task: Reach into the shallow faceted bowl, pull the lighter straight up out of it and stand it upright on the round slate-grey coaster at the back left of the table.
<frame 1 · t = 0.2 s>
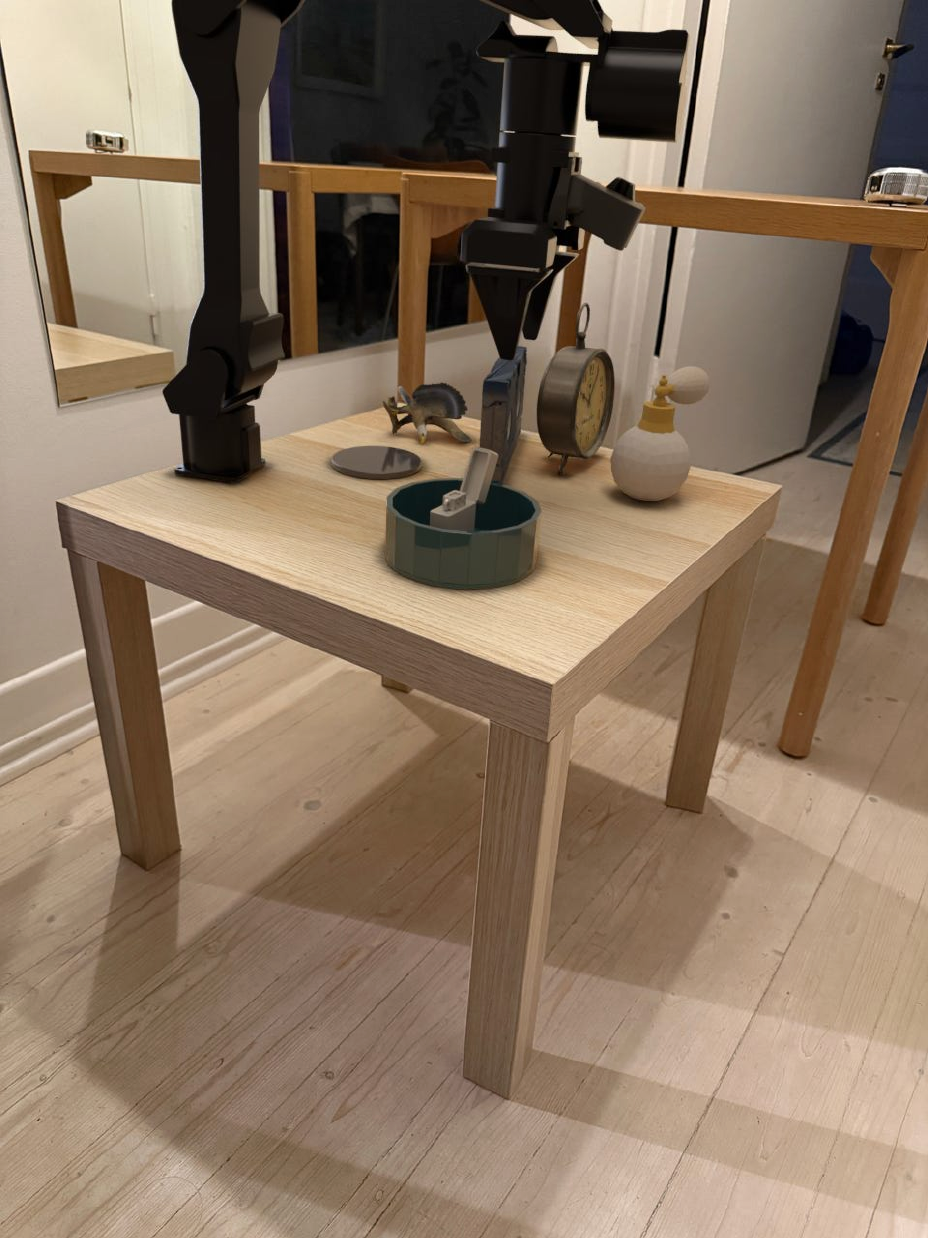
hand: (519, 348, 75), 15 cm above the table, tool pointing down, fingers open, 9 cm apart
lighter: (460, 554, 72), resting on shallow faceted bowl
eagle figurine: (427, 440, 101), on the table
perfume bottle: (647, 495, 89), on the table
alarm clock: (566, 465, 96), on the table
shallow faceted bowl: (460, 556, 73), on the table
vhs cassette tape: (500, 458, 96), on the table
coaster: (376, 464, 92), on the table
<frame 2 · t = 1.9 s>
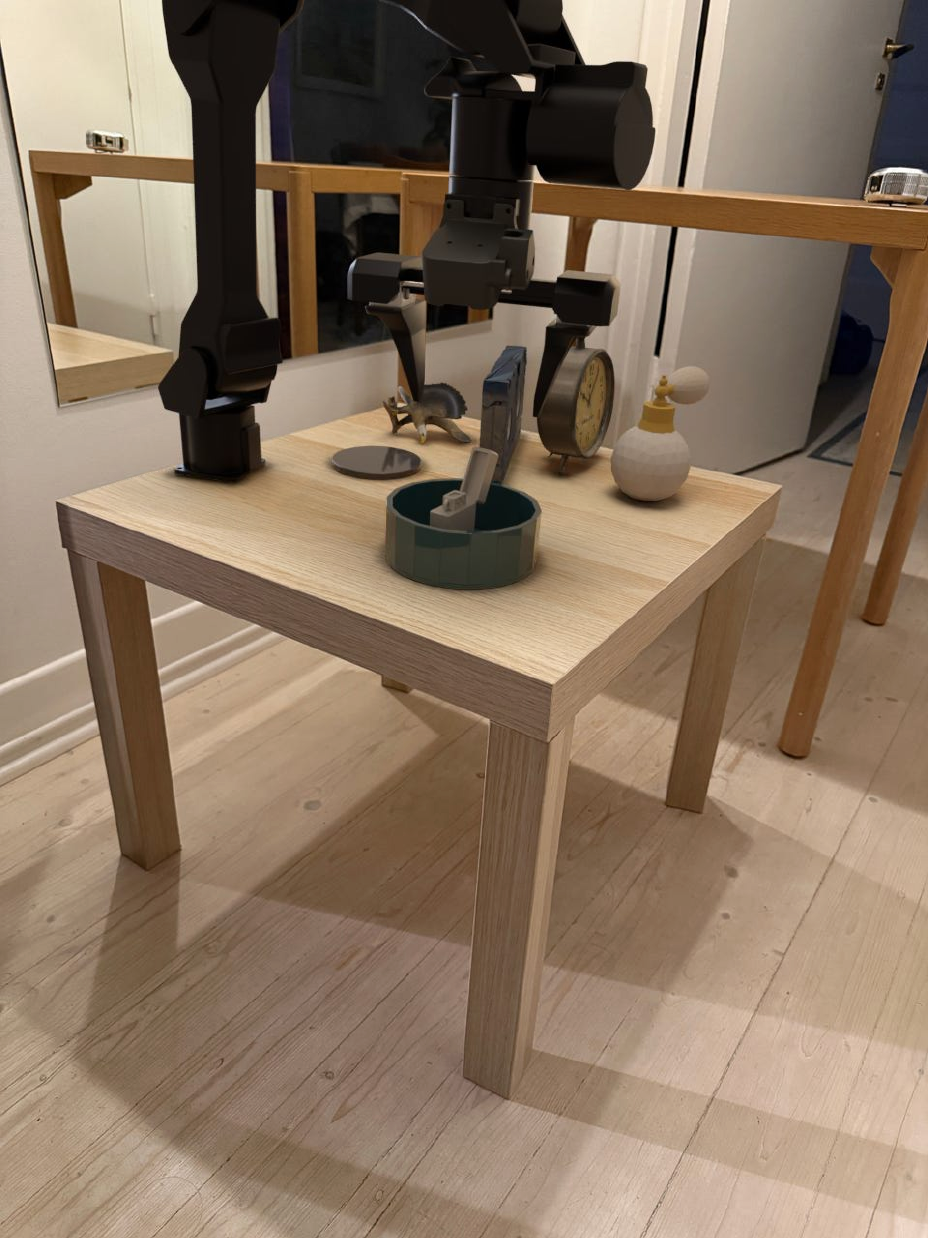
hand: (476, 408, 68), 12 cm above the table, tool pointing down, fingers open, 9 cm apart
nothing on the table moved.
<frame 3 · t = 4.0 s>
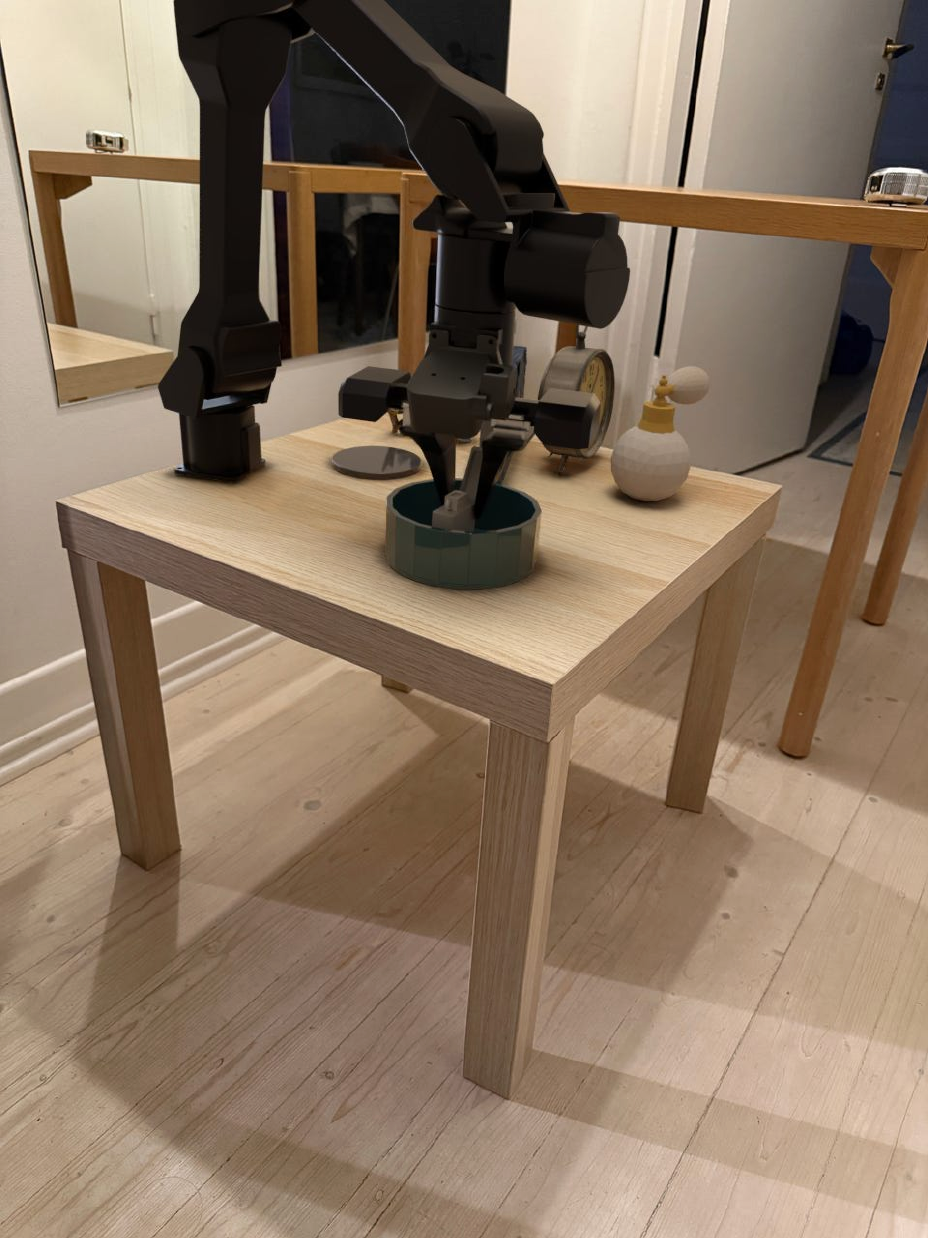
hand: (463, 515, 71), 4 cm above the table, tool pointing down, fingers closed on lighter, 2 cm apart
lighter: (459, 553, 72), resting on shallow faceted bowl, touching gripper
everything else where it was.
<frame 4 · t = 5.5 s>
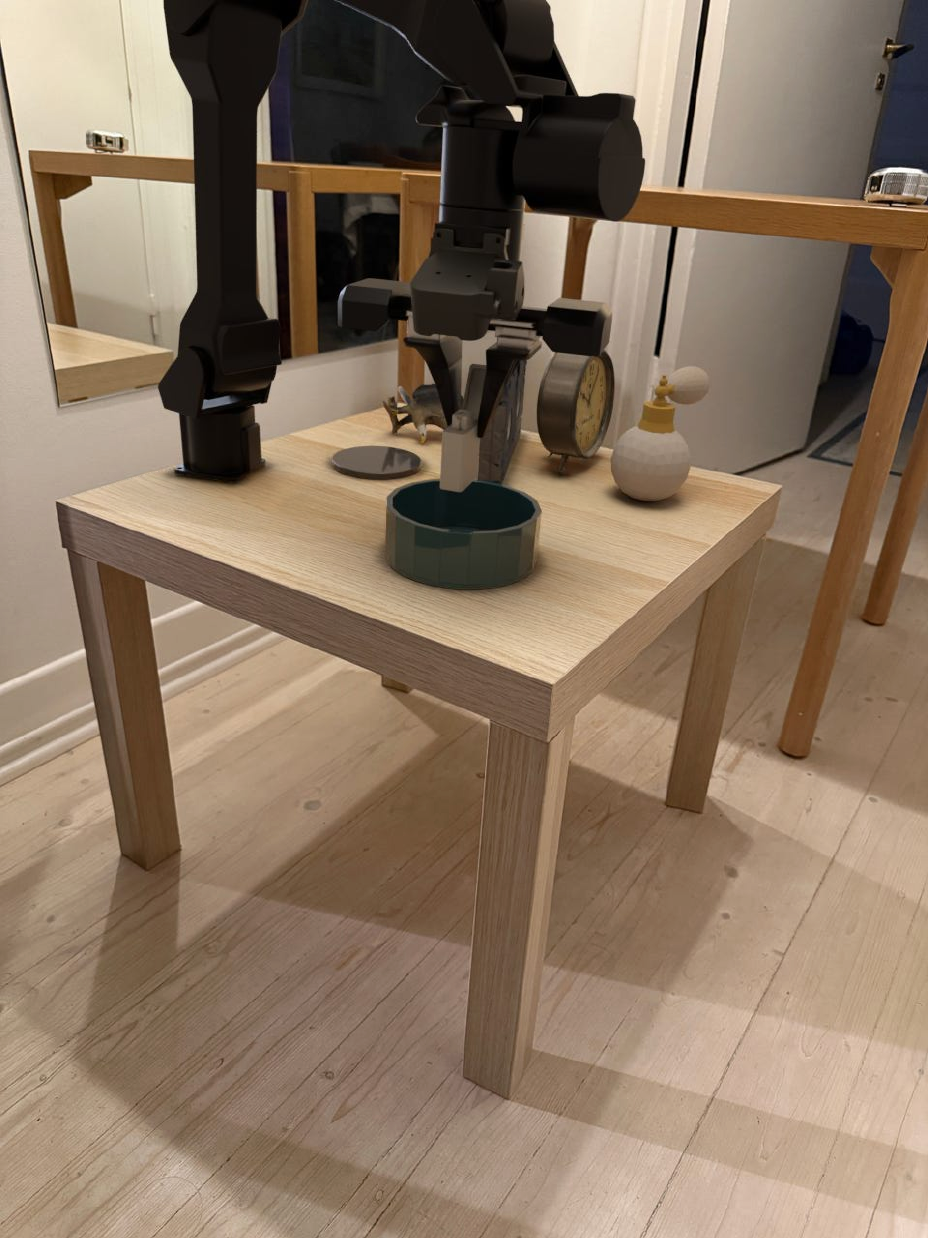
hand: (467, 435, 68), 10 cm above the table, tool pointing down, fingers closed on lighter
lighter: (464, 478, 70), point 7 cm above the table, touching gripper
everything else where it was.
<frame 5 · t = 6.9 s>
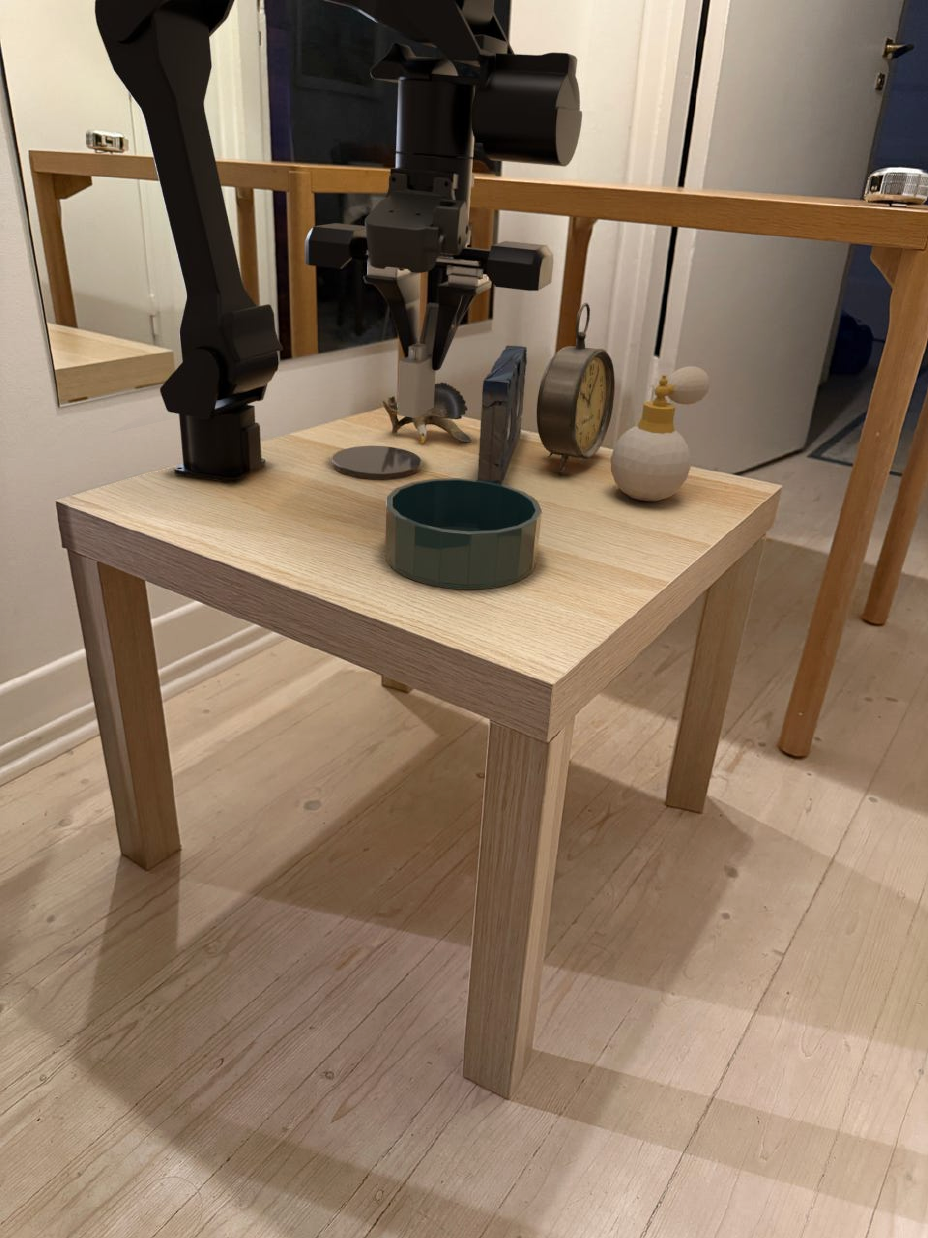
hand: (423, 367, 75), 13 cm above the table, tool pointing down, fingers closed on lighter
lighter: (422, 408, 76), point 9 cm above the table, touching gripper
everything else where it was.
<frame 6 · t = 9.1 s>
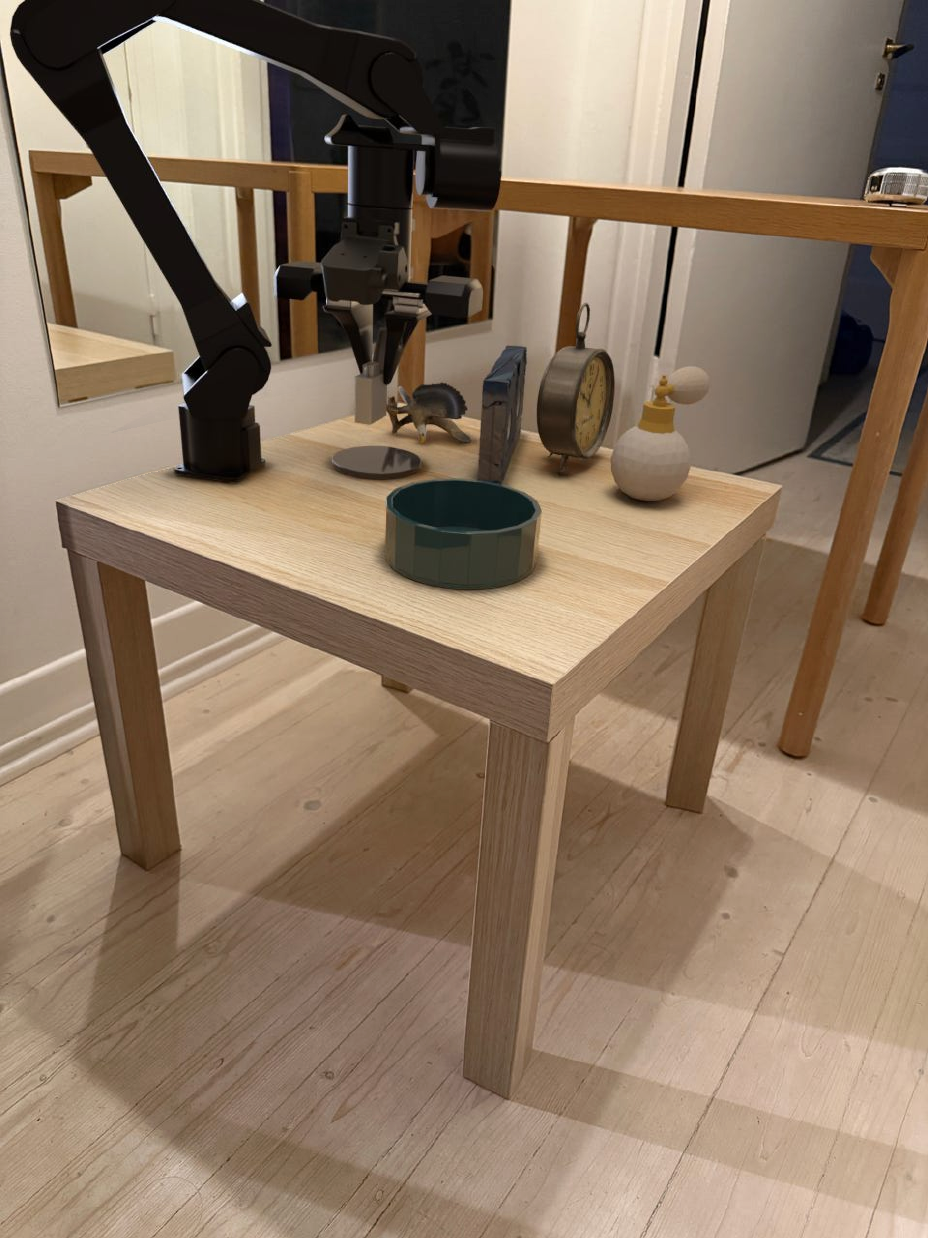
hand: (376, 382, 88), 8 cm above the table, tool pointing down, fingers closed on lighter
lighter: (376, 416, 89), point 5 cm above the table, touching gripper
everything else where it was.
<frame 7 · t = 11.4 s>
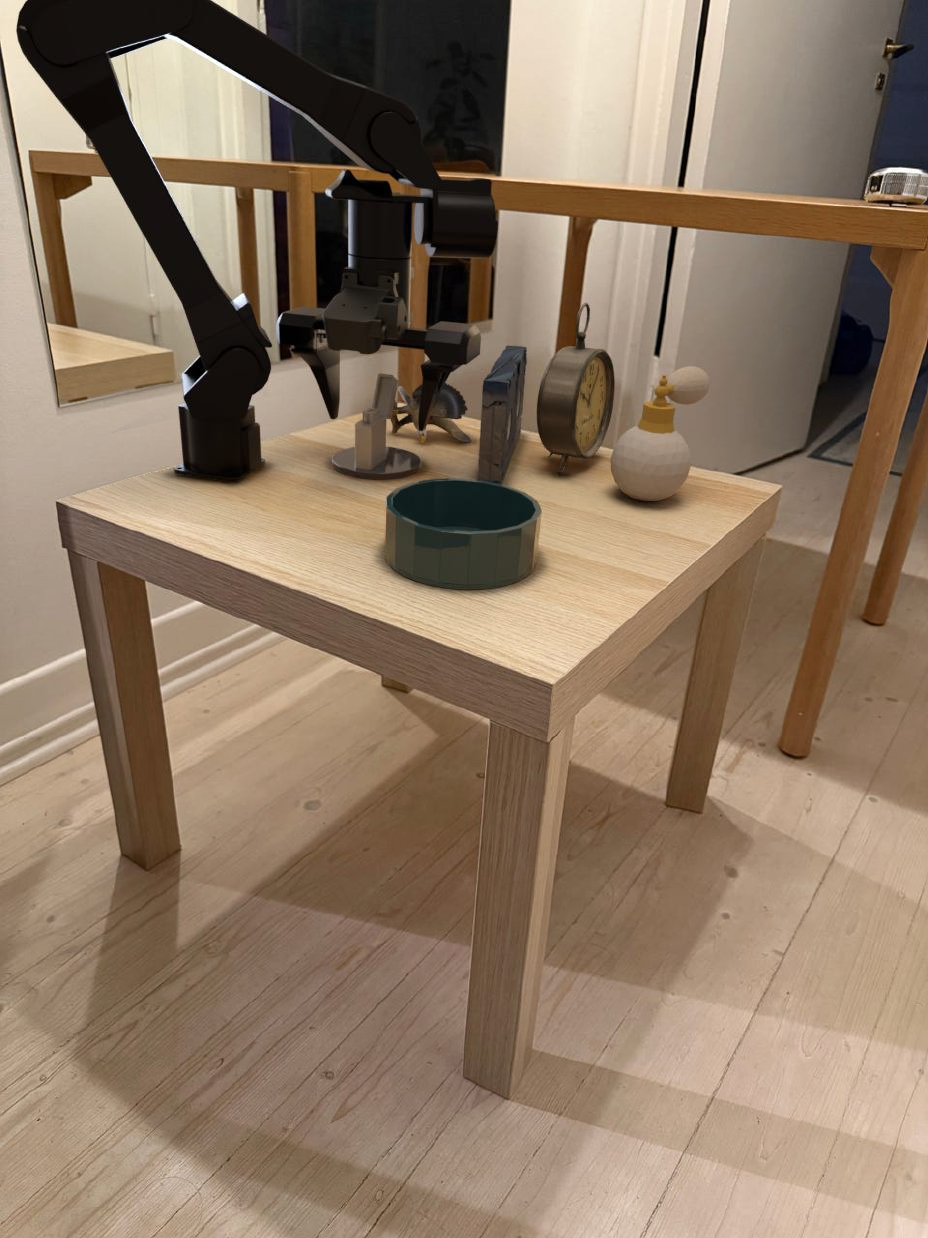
hand: (377, 424, 90), 4 cm above the table, tool pointing down, fingers open, 9 cm apart
lighter: (376, 460, 92), resting on coaster
everything else where it was.
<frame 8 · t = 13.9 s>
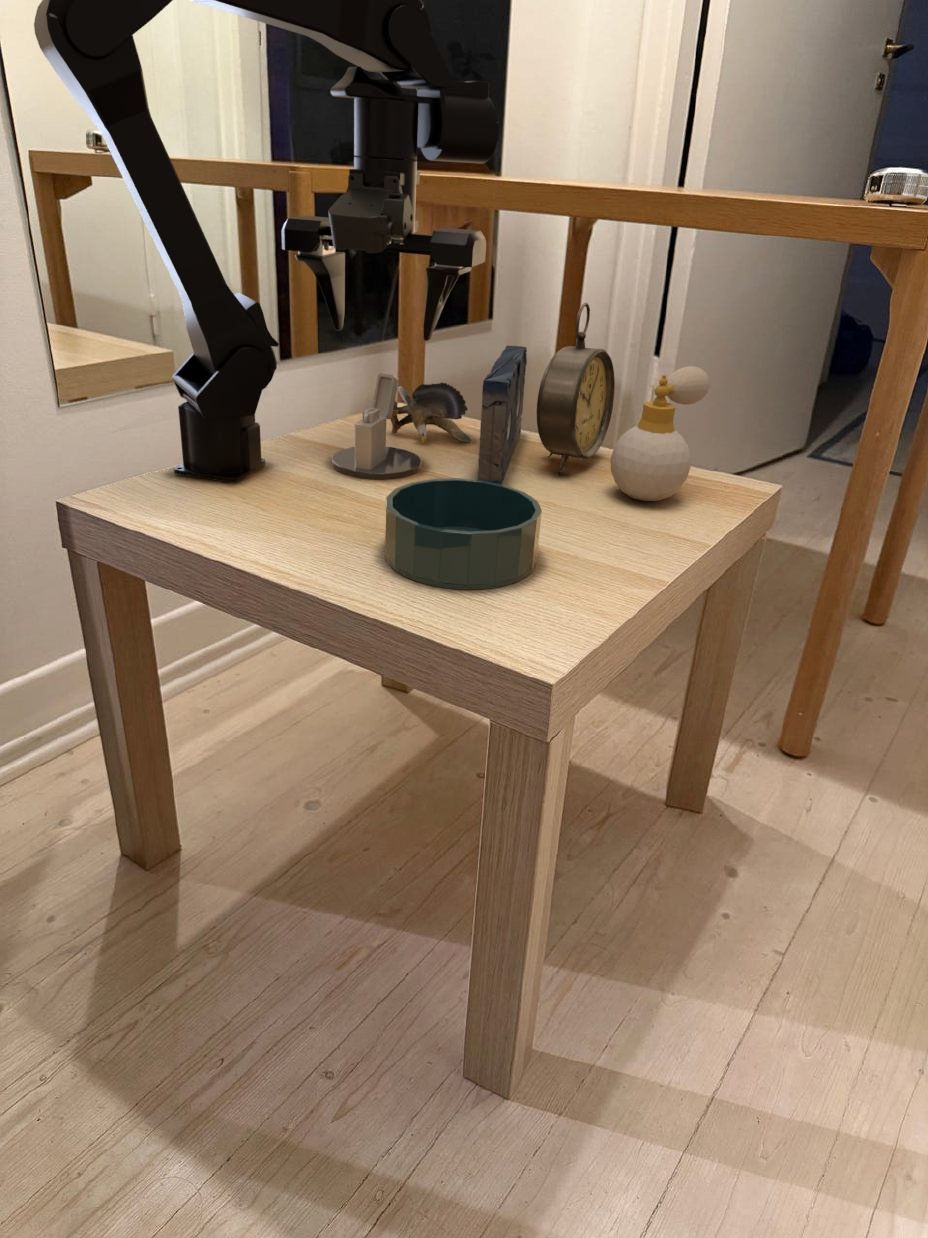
hand: (382, 334, 90), 12 cm above the table, tool pointing down, fingers open, 9 cm apart
nothing on the table moved.
at the end: lighter 0.1 cm off-centre on the coaster, point 0.4 cm above the coaster's base; lighter tilted 0°; the gripper is holding nothing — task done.
